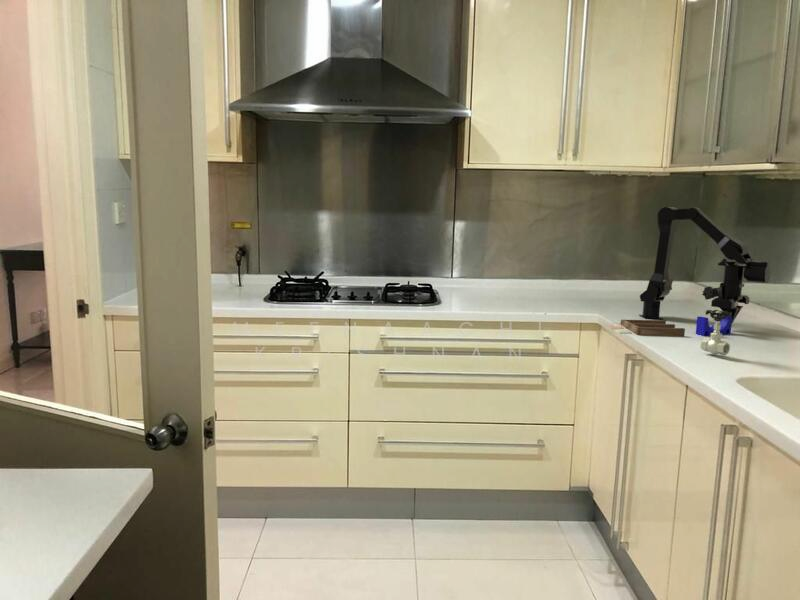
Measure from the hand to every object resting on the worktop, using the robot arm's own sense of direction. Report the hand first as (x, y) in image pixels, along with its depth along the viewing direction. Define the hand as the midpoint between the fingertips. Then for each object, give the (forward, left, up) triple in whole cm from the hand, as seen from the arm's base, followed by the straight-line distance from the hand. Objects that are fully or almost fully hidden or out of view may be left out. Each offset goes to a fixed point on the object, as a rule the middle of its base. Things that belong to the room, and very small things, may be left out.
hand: (728, 326), depth 217 cm
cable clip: (+6, -8, -2) cm, 10 cm away
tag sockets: (+4, -27, -2) cm, 28 cm away
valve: (+35, -22, -2) cm, 42 cm away
